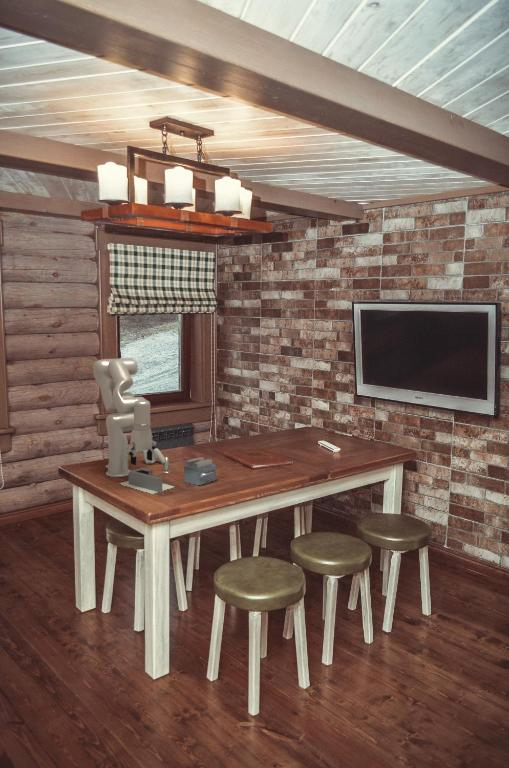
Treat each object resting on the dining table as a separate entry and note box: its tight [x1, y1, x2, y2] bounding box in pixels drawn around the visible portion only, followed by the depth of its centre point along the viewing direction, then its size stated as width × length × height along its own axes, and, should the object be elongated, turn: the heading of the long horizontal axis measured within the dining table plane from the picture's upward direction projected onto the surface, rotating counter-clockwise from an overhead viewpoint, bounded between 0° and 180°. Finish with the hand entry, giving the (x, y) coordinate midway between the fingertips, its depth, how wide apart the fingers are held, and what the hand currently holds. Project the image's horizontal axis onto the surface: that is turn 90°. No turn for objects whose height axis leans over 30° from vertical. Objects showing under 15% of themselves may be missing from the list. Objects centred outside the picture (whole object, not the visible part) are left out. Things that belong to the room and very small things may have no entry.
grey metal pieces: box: [162, 456, 219, 486], centre depth 295 cm, size 32×12×10 cm, turn 51°
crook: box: [128, 467, 163, 493], centre depth 280 cm, size 20×9×6 cm, turn 54°
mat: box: [118, 480, 175, 495], centre depth 281 cm, size 24×14×1 cm, turn 51°
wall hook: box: [142, 447, 165, 465], centre depth 322 cm, size 8×10×10 cm
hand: (141, 462), depth 278 cm, fingers open, 9 cm apart
